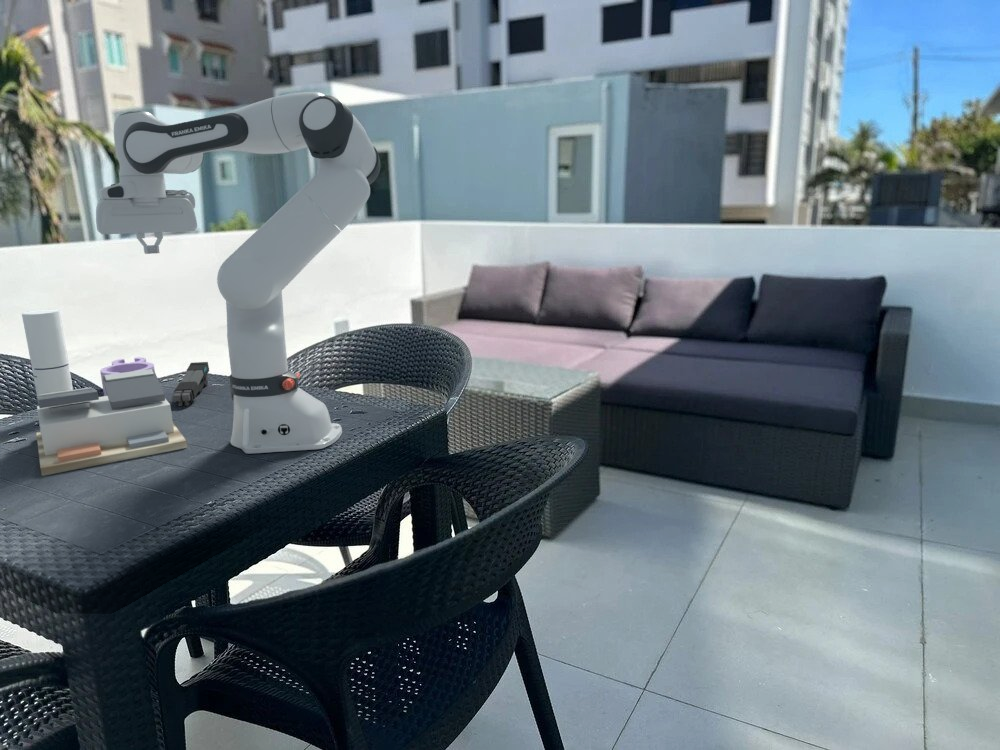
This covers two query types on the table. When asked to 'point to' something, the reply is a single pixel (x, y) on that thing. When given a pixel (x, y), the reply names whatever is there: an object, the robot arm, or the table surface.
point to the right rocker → (133, 388)
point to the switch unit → (103, 434)
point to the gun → (191, 383)
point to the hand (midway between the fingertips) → (152, 253)
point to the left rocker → (67, 397)
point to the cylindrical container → (47, 351)
